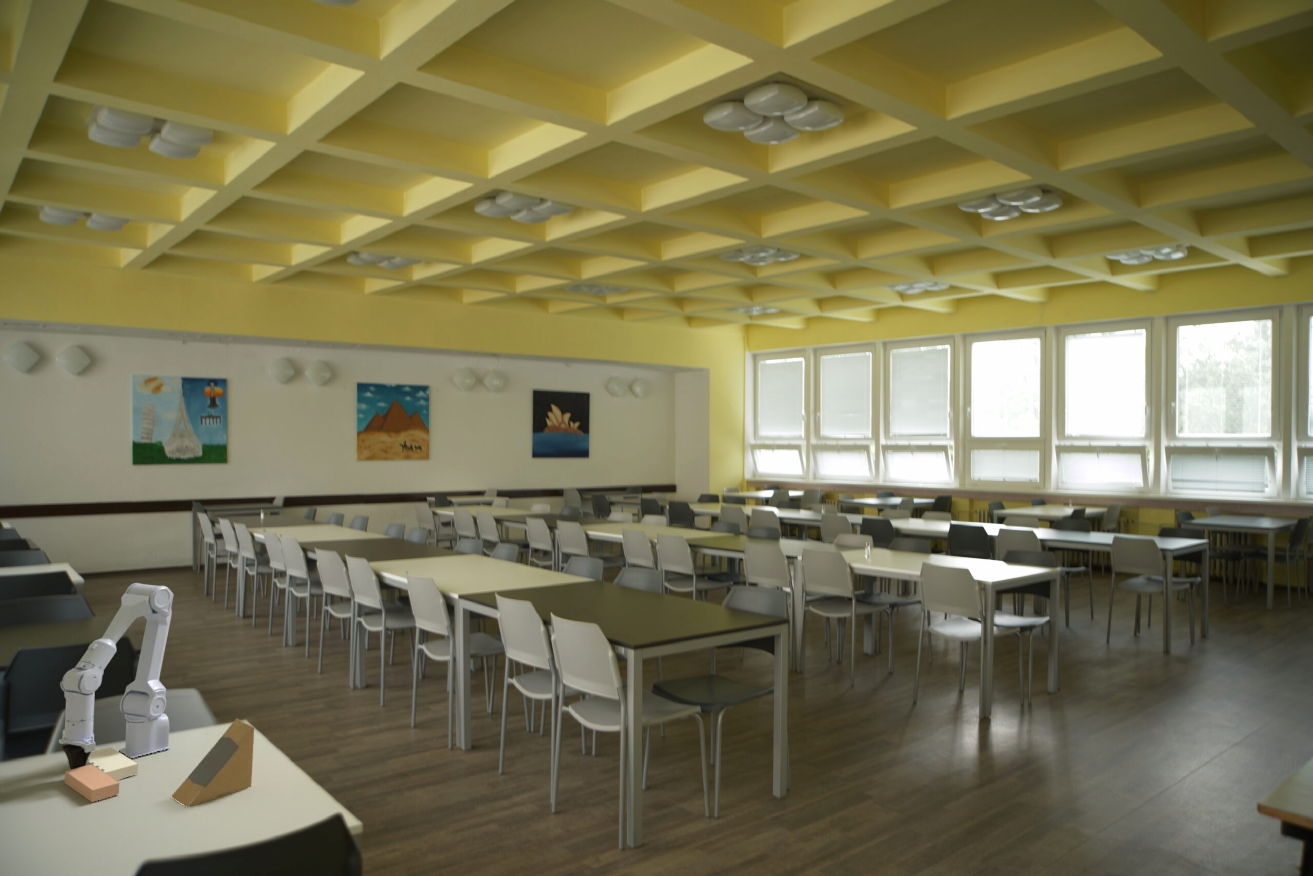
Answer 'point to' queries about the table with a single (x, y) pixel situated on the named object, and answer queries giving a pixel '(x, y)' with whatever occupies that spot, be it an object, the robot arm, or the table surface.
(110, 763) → the board
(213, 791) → the sandwich container
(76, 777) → the block
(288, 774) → the table surface
